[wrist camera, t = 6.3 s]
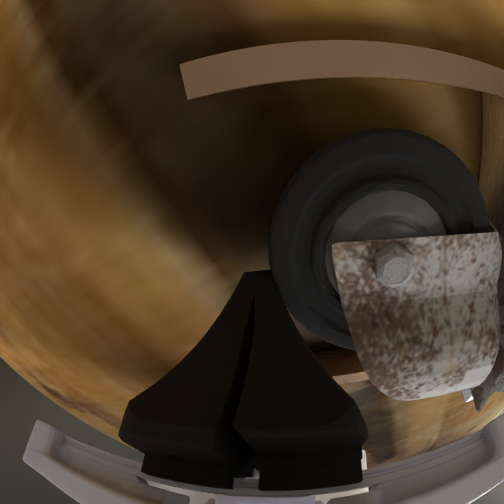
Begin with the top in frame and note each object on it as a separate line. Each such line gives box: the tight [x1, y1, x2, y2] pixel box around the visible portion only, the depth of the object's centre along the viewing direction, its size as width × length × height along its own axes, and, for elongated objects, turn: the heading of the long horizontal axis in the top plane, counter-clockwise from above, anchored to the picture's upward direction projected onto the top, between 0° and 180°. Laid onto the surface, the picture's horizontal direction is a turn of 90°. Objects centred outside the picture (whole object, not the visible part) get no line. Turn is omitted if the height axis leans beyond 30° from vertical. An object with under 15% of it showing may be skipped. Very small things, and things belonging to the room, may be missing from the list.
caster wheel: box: [268, 128, 504, 412], centre depth 9 cm, size 7×11×10 cm
